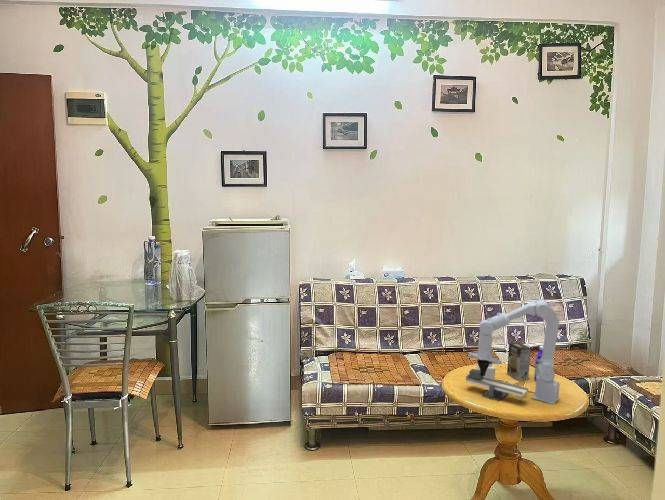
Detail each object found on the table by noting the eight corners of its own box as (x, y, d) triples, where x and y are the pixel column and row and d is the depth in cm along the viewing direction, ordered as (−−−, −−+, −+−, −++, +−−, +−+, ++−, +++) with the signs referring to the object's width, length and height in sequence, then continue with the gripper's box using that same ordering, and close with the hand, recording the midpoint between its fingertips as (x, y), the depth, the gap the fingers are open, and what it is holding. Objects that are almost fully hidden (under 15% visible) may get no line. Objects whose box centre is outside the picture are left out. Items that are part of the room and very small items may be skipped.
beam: (527, 396, 231) (528, 385, 231) (521, 401, 226) (522, 390, 226) (472, 381, 248) (472, 372, 248) (465, 385, 243) (466, 375, 242)
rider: (483, 379, 243) (483, 370, 242) (479, 381, 240) (479, 373, 239) (472, 377, 246) (472, 368, 245) (469, 379, 243) (469, 371, 242)
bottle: (531, 379, 258) (534, 344, 256) (540, 378, 260) (543, 343, 258) (542, 384, 251) (545, 349, 249) (551, 383, 253) (554, 348, 251)
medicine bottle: (494, 382, 253) (496, 358, 251) (479, 382, 253) (481, 357, 251) (490, 377, 260) (492, 353, 258) (475, 376, 260) (477, 352, 258)
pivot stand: (508, 394, 239) (509, 382, 238) (499, 401, 231) (500, 389, 230) (491, 389, 244) (492, 378, 243) (482, 396, 236) (482, 384, 236)
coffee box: (506, 374, 265) (508, 342, 262) (517, 372, 266) (519, 341, 264) (517, 380, 256) (520, 348, 254) (529, 379, 258) (531, 347, 256)
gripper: (466, 345, 241) (464, 374, 242) (496, 352, 231) (494, 382, 233) (473, 341, 246) (471, 370, 248) (503, 348, 236) (501, 378, 238)
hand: (483, 375), depth 241 cm, fingers closed
